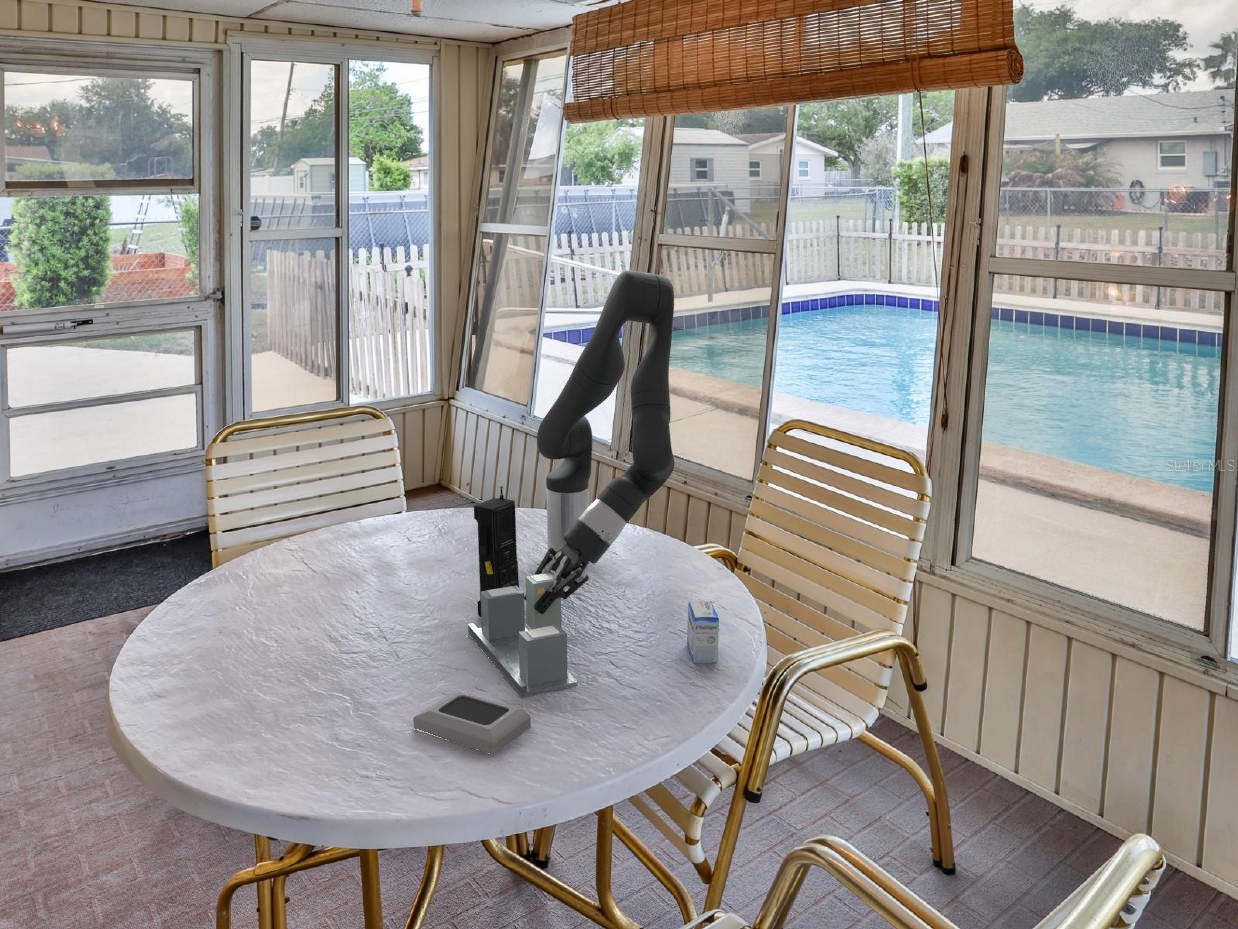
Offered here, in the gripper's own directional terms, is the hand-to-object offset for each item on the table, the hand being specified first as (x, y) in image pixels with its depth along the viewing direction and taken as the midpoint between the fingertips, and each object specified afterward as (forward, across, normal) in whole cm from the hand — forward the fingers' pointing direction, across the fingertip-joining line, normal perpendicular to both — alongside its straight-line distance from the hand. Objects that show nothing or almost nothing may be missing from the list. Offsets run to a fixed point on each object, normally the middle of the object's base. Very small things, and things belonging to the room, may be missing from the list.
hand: (533, 606), depth 180 cm
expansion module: (+1, 0, +4) cm, 5 cm away
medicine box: (-12, +12, +26) cm, 31 cm away
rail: (+9, 0, +5) cm, 10 cm away
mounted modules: (+9, 0, +5) cm, 10 cm away
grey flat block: (+20, +20, -5) cm, 28 cm away
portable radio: (+6, -20, +7) cm, 22 cm away
